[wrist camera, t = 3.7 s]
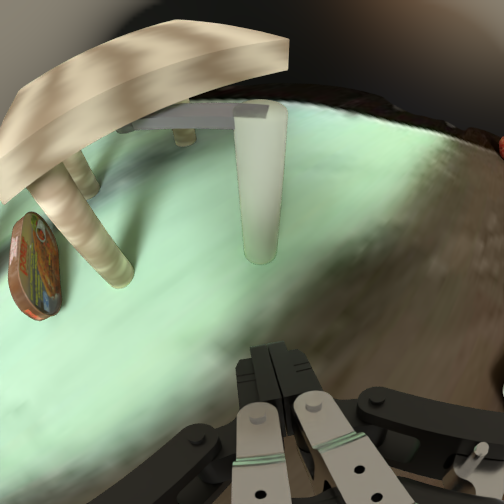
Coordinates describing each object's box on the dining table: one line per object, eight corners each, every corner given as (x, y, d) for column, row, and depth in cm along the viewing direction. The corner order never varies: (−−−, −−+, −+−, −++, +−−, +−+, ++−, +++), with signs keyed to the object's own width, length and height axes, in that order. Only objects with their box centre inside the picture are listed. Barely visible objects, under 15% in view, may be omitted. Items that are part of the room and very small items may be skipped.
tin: (65, 325, 26) (20, 296, 19) (48, 332, 26) (3, 306, 19) (59, 234, 34) (29, 197, 26) (44, 242, 33) (14, 208, 26)
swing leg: (161, 250, 31) (102, 127, 16) (171, 226, 33) (125, 102, 18) (274, 266, 30) (285, 126, 15) (278, 239, 31) (289, 100, 17)
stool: (108, 307, 28) (-19, 175, 10) (73, 190, 38) (19, 90, 20) (279, 206, 34) (289, 39, 17) (193, 127, 45) (175, 19, 27)
